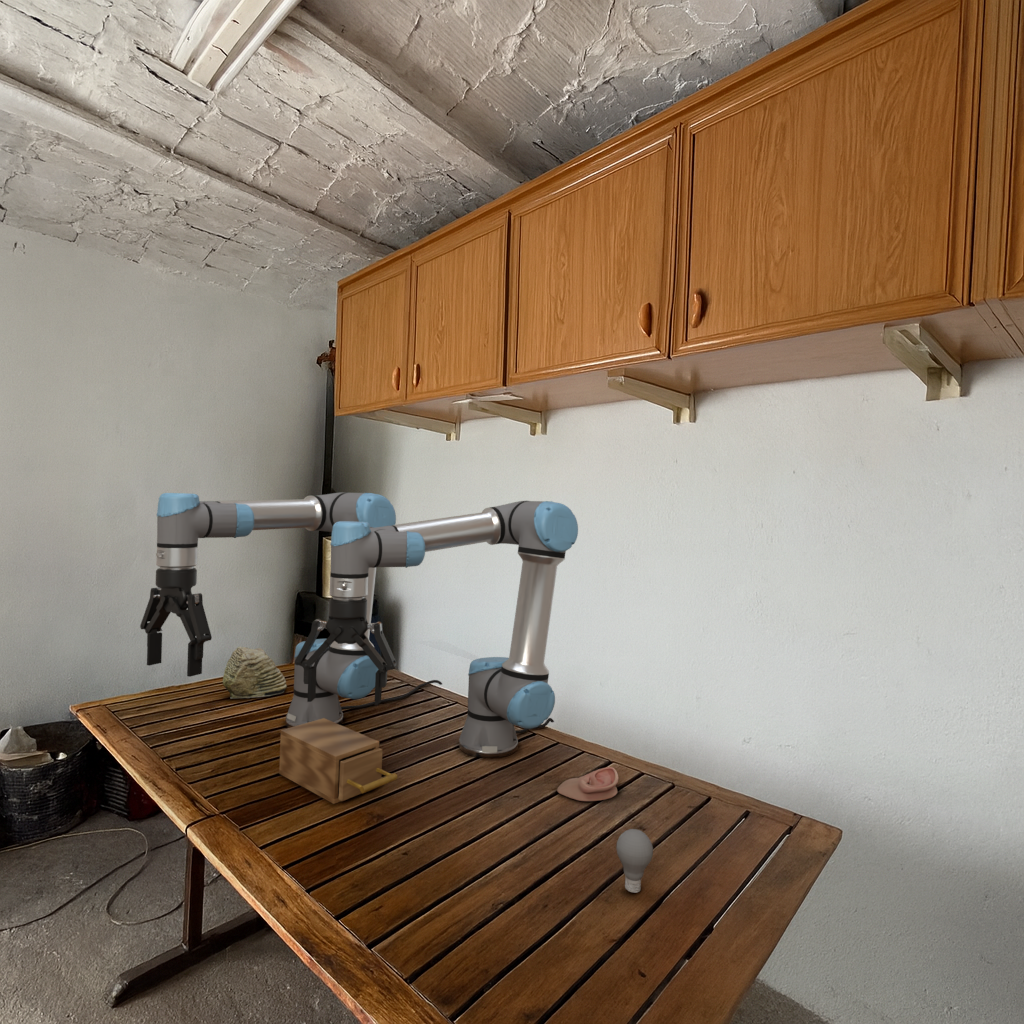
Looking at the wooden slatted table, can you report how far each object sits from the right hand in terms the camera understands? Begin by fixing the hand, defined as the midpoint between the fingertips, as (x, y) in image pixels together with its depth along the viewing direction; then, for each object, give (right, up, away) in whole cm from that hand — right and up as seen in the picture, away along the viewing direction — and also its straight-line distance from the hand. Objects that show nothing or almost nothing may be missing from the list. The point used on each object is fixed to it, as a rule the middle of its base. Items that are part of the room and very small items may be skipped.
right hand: (344, 701), depth 129 cm
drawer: (-3, -21, +9) cm, 23 cm away
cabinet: (-7, -21, +13) cm, 26 cm away
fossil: (-47, -19, +69) cm, 85 cm away
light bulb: (+54, -25, -23) cm, 64 cm away
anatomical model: (+51, -24, +13) cm, 58 cm away
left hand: (-36, +6, +3) cm, 37 cm away
